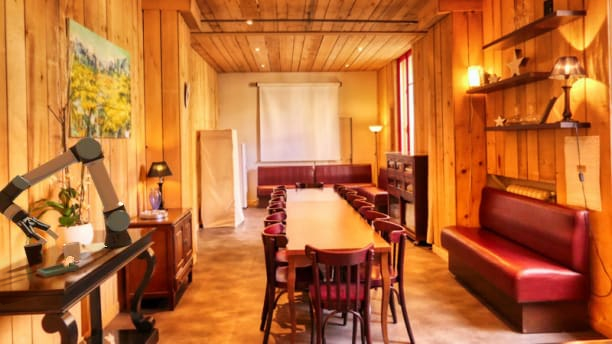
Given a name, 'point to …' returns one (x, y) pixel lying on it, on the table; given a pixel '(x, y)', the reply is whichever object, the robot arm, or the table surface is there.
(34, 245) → the coffee mug
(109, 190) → the robot arm
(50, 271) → the tray
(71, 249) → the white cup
